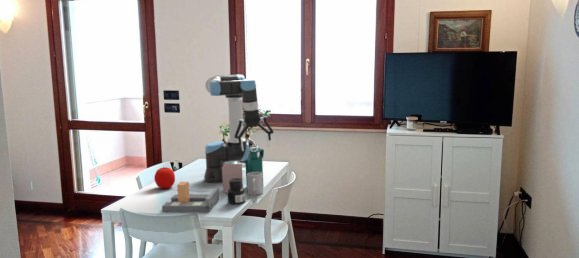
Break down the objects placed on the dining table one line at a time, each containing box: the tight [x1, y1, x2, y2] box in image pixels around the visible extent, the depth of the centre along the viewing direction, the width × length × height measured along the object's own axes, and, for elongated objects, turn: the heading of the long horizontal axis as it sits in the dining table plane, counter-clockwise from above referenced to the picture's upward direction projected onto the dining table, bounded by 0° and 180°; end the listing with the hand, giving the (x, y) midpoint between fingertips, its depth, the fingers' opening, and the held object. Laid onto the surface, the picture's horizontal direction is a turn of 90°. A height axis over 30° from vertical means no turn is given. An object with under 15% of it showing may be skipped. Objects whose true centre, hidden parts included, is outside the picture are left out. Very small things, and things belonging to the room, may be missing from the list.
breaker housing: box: [161, 187, 221, 213], centre depth 236 cm, size 24×20×6 cm
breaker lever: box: [176, 181, 190, 202], centre depth 235 cm, size 4×6×10 cm, turn 175°
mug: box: [246, 172, 264, 196], centre depth 253 cm, size 12×8×11 cm
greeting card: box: [222, 163, 244, 193], centre depth 260 cm, size 11×7×15 cm, turn 74°
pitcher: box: [244, 148, 265, 186], centre depth 266 cm, size 10×8×22 cm
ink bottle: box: [227, 178, 246, 205], centre depth 239 cm, size 10×9×12 cm
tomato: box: [154, 166, 176, 189], centre depth 270 cm, size 12×12×13 cm
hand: (255, 148), depth 241 cm, fingers open, 13 cm apart
